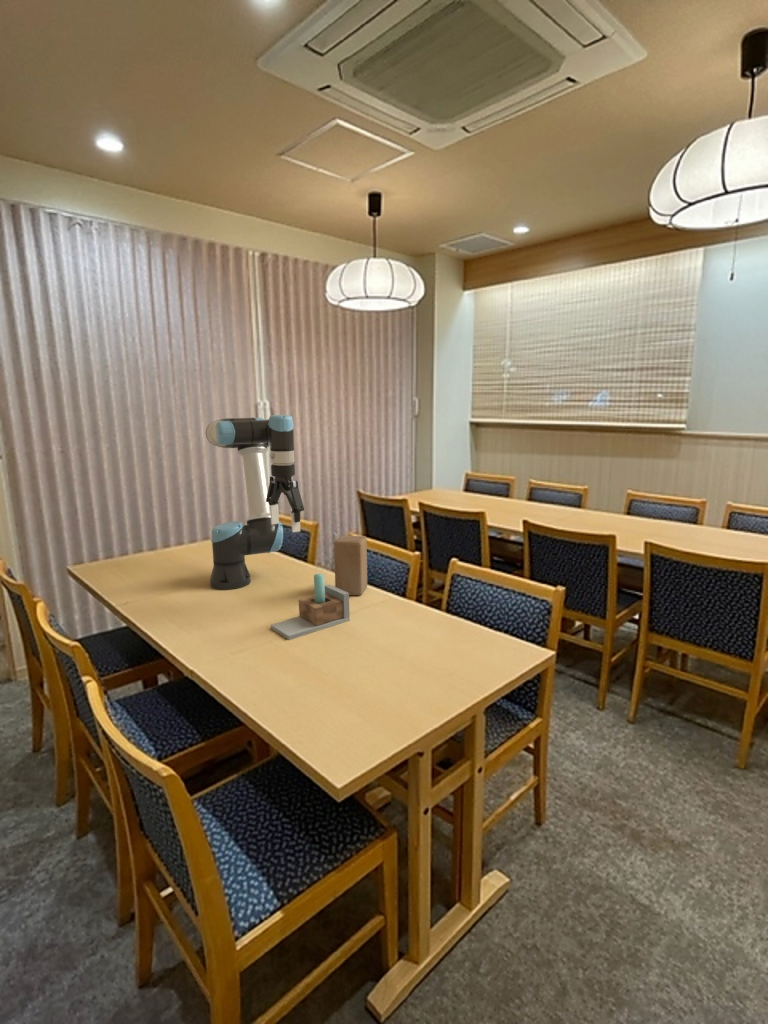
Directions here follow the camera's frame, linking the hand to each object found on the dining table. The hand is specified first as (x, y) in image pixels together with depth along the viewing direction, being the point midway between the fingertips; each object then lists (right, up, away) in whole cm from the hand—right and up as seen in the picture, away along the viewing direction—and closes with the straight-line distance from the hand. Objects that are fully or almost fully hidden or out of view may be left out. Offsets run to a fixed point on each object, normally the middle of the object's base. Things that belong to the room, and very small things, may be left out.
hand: (285, 527), depth 181 cm
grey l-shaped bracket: (+10, -30, -9) cm, 33 cm away
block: (+21, -24, +21) cm, 38 cm away
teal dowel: (+12, -28, -7) cm, 32 cm away
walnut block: (+13, -28, -7) cm, 32 cm away
